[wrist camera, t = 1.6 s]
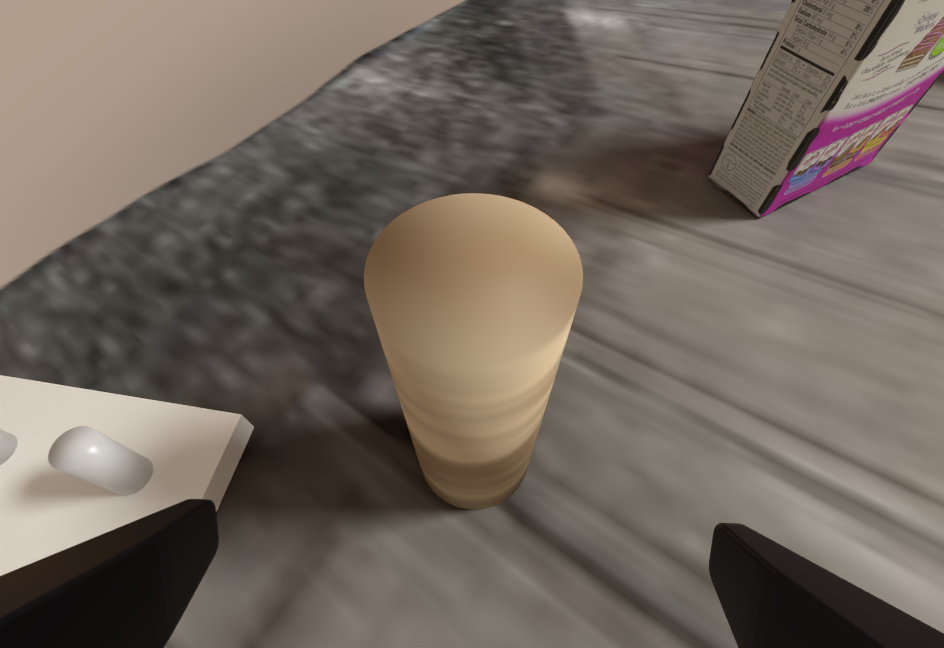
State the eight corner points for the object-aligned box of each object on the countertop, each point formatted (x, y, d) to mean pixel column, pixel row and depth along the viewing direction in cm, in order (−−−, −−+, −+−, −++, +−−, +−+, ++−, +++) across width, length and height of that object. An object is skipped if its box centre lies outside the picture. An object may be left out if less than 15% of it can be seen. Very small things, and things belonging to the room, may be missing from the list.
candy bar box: (809, 128, 35) (1021, -195, 22) (870, 165, 33) (1152, -172, 19) (699, 177, 32) (863, -162, 19) (756, 222, 30) (994, -130, 16)
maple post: (522, 519, 20) (578, 378, 9) (407, 498, 21) (333, 343, 10) (533, 410, 23) (586, 205, 12) (432, 395, 23) (395, 184, 12)
